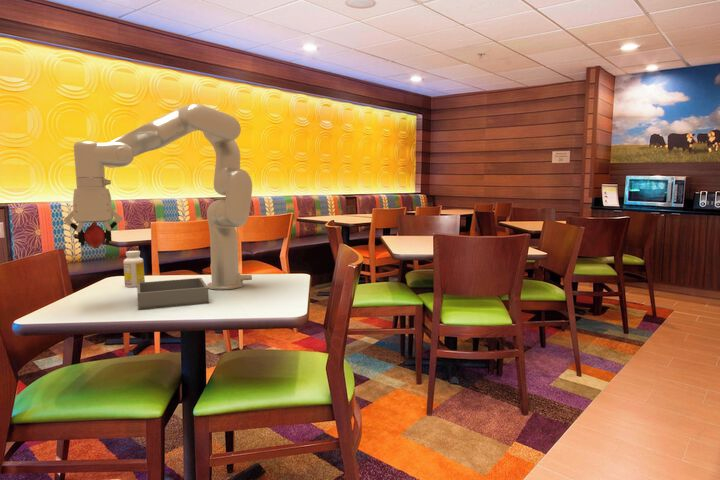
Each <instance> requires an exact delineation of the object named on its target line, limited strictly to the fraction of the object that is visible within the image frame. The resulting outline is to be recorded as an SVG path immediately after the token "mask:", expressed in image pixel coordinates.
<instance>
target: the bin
mask: <svg viewBox="0 0 720 480" xmlns="http://www.w3.org/2000/svg"><path fill="white" fill-rule="evenodd" d="M136 288H137V290H136V292H137V308H138V309H137V310H138V311H143V310H153V309H155V310H156V309H164V308H173V307H182V306H184V307H185V306H193V305H194V306H195V305H204V304H205V305H206V304H210V302H209V288H208V286H207V284H206V283H205V281H204V280H203V278H202V277H196V278H195V277H194V278H184V279H183V278H181V279H169V280H167V279H166V280H158V281H157V280H155V281H154V280H153V281H145V282H141V283H137V287H136Z"/></svg>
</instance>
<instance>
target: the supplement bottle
mask: <svg viewBox="0 0 720 480" xmlns="http://www.w3.org/2000/svg"><path fill="white" fill-rule="evenodd" d="M140 255H141V251H140V250H128V251H127V250H126V251H125V256H126V258H125V259H123V274H124V276H123V278H124V285H125V288H137V283H141V282H146V281H145V266H144V258H142V257H140Z"/></svg>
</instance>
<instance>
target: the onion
mask: <svg viewBox="0 0 720 480" xmlns="http://www.w3.org/2000/svg"><path fill="white" fill-rule="evenodd" d="M105 231H106V230H104V229H103V228H102V227H101V226H99V225H98V222H91V224H90V225H89V226H87V228H86V229H85V230H84V231H83V232H84V240H85V244H87V245H88V246H89V247H91V248H93V249H99V247H101V245H103V243H104V242H106V235H105Z"/></svg>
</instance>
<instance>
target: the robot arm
mask: <svg viewBox="0 0 720 480" xmlns="http://www.w3.org/2000/svg"><path fill="white" fill-rule="evenodd" d="M197 131H200V132H202V133H203V134H202V135H204V137H205V139H206V140H207V141H208V142H209V143H210V145H211V146H212V147H213V149H214V152H215V165H214V167H215V168H214V173H213V174H214V176H213V189H214V191H215V192H216V193H217V194H218V195H221V196H224V197H225V199H216V200H214V201H213V202H211V203H210V204H209V205H208V207H207V210H206V219H207V224H208V230H209V242H210V245H209V247H210V267H211V268H210V269H211V271H210V272H211V282H209V283H207V284H206V285H207V286H208V290H209V289H210V290H218V291H219V290H220V291H223V290H233V289H239V288H242V287H243V286H244V281H252V280H253V275H252V274H241V273H240V272H239V250H238V249H239V248H238V247H239V245H238V244H239V243H238V242H239V241H238V240H239V239H238V233H237V229H236V228H239V227H243V226H244V225H245V224H246V223H247V221H248V220H249V217H250V212H251V206H252V205H251V203H252V196H253V195H252V194H253V193H252V192H253V183H252V182H253V180H252V178H251V176H250V174H249V173H248V172H247V171H246V170H244V169H242V168H241V152H240V148H239V145H238V143H237V142H236V139H238V138H239V136H240V135H241V131H242V128H241V124H240V123H239V120H238V119H237V118H235V117H234V116H232V114H231V115H230V114H228V113H225V112H223V111H220V110H217V109H215V108H213V107H212V108H211V107H209V106H206V105H204V104H199V103H191V104H187V105H183V106H180V107H178V108H176V109H174V110H172V111H170V112H168V113H166V114H163V115H162V116H160V117H158V118H156V119H154V120H151V121H149V122H147V123H145V124H143V125H141V126H139V127H137V128H136V129H134V130H131V131H129V132H127V133H124V134H123V135H120V136H118V137H117V138H115V139H112V140H110V141H107V142H99V141H90V140H89V141H85V140H81V141H75V143H74V144H73V156H74V167H75V168H74V170H75V183H76V188H74V189H73V197H72V198H73V199H72V210H71V212H70V213H68V215H67V216H66V217H65V218H64V219H63V222H64V223H65V224H67V225H68V226H69V227H70V228H71V229H73V230H74V231H76V232H77V239H78V241H77V242H78V243H79V244H80V245H81V247H82V246H83V247H84V246H85V244H86V242H85V240H84V232H85V231H84V230H83V229H84V225H85V223H93V222H96V223H103V224H104V227H105V230H104V231H105V235H106V239H105V245H110V242H112V240H113V239H112V230H113V229H114V228H115V227H116V226H117V225H118V224H119V223H120V222H121V221H122V220H123V217H122V216H121V215H120V214H119V213H117V212H116V211H115V210H114V209H113V204H112V197H111V196H112V195H111V193H110V188H107V186H108V185H112V183H111V179H106V173H105V168H110V169H111V168H113V169H115V168H124V167H126V166H129V165H130V164H132V162H133V160H134V159H135V158H136V157H137V156H140V155H142V154H144V153H147V152H152V151H155V150H158V149H161V148H164V147H166V146H167V145H170V144H171V143H173V142H175V141H177V140H179V139H181V138H183V137H185V136H187V135H189V134H192V133H193V132H197ZM113 217H114V218H115V219H114V220H113V222H111V223H110V221H111V220H112V219H113ZM72 219H73V221H72ZM74 221H75V222H76V223H77V224H76V223H75V222H74Z"/></svg>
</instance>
